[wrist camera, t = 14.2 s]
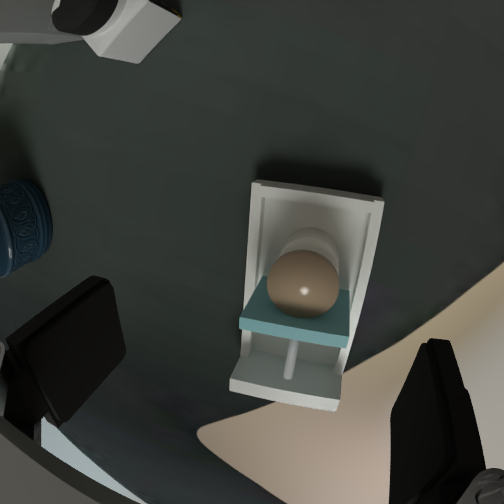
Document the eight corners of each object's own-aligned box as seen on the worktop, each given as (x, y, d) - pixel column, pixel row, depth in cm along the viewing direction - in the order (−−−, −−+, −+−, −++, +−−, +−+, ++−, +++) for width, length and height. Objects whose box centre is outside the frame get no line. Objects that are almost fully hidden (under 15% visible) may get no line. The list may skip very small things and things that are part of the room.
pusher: (349, 290, 32) (349, 337, 24) (332, 360, 35) (326, 411, 28) (262, 275, 34) (239, 316, 26) (255, 345, 37) (235, 392, 30)
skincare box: (101, -4, 27) (4, -32, 13) (88, 46, 30) (-17, 34, 16) (59, 4, 28) (-30, -10, 14) (48, 50, 31) (-46, 47, 17)
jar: (344, 231, 30) (345, 259, 24) (334, 285, 32) (331, 323, 26) (285, 222, 31) (270, 247, 25) (279, 275, 34) (263, 311, 27)
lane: (381, 197, 29) (390, 212, 23) (338, 376, 37) (335, 411, 32) (257, 179, 31) (238, 190, 26) (244, 358, 39) (229, 390, 34)
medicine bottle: (184, 18, 27) (114, -18, 16) (139, 65, 30) (60, 51, 19) (149, -13, 26) (80, -46, 15) (109, 32, 29) (33, 15, 18)
